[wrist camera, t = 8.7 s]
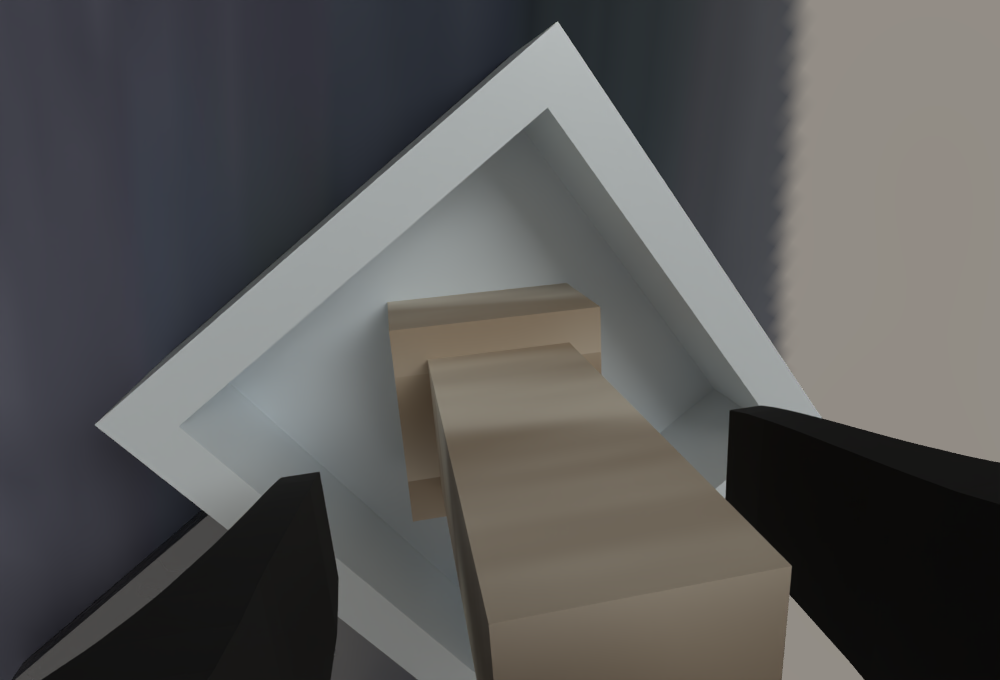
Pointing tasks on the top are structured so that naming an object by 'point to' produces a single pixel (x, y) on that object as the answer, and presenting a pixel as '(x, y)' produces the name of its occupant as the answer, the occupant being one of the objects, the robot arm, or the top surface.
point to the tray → (442, 272)
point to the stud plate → (357, 662)
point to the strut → (572, 503)
